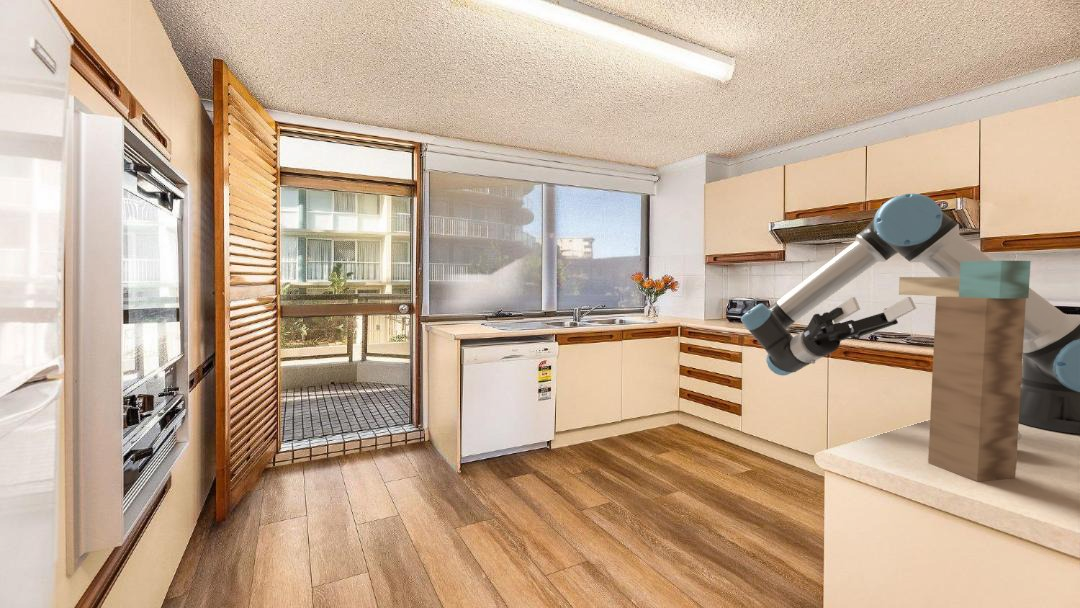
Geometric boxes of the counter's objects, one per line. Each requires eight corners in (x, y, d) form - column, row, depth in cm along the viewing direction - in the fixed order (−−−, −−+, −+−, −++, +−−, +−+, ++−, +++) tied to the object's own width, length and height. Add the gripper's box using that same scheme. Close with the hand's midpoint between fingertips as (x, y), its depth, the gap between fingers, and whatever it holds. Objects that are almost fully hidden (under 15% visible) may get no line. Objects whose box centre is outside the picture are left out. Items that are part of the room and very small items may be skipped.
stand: (964, 459, 87) (972, 296, 85) (1015, 477, 79) (1025, 298, 77) (928, 462, 85) (936, 296, 83) (976, 481, 77) (986, 298, 76)
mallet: (918, 294, 94) (919, 264, 93) (1028, 298, 76) (1030, 260, 76) (893, 294, 92) (894, 263, 92) (999, 298, 75) (1001, 260, 75)
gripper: (864, 355, 117) (943, 318, 98) (774, 358, 112) (839, 320, 93) (853, 327, 120) (926, 286, 101) (765, 329, 115) (825, 287, 97)
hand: (884, 302), depth 97 cm, fingers open, 13 cm apart
